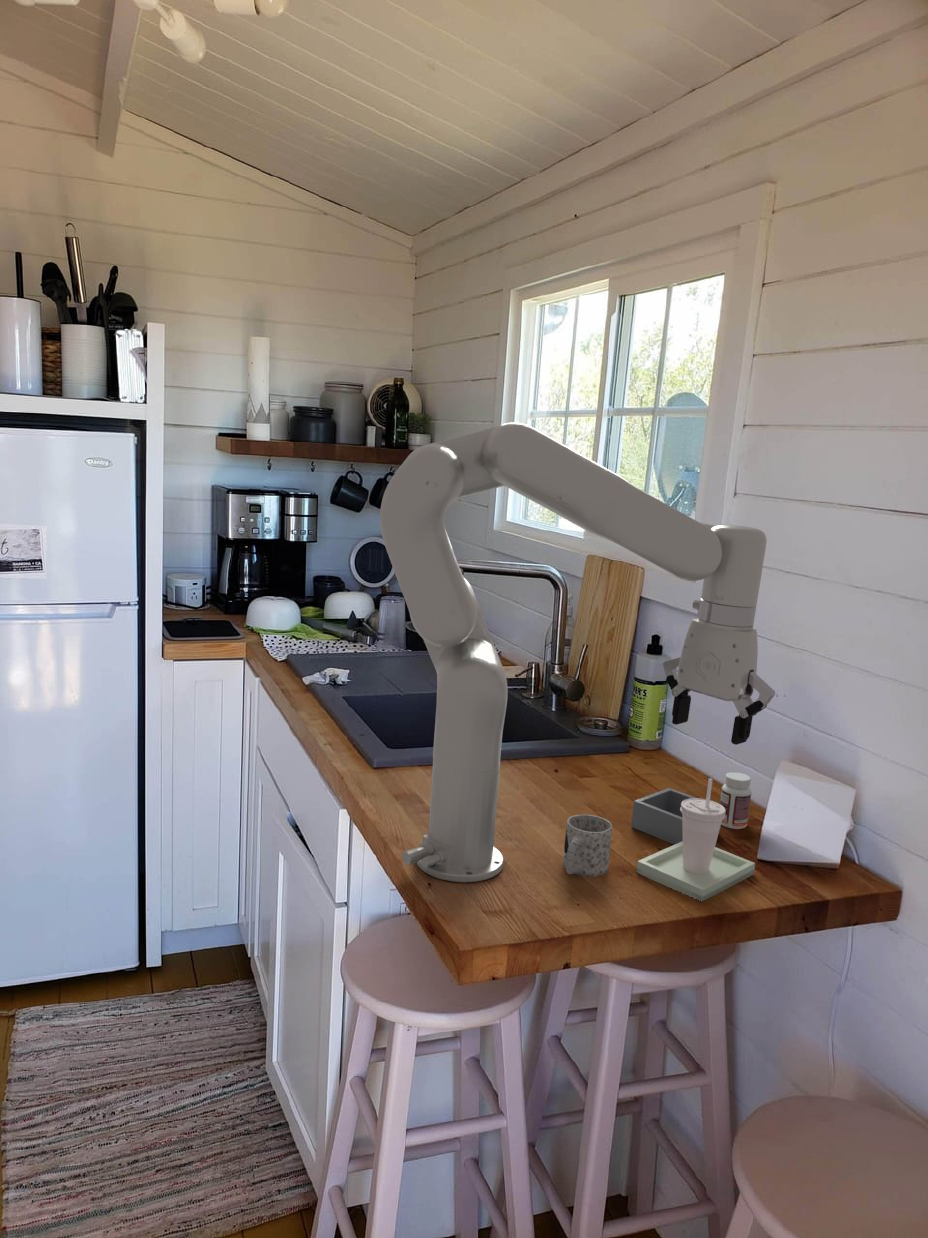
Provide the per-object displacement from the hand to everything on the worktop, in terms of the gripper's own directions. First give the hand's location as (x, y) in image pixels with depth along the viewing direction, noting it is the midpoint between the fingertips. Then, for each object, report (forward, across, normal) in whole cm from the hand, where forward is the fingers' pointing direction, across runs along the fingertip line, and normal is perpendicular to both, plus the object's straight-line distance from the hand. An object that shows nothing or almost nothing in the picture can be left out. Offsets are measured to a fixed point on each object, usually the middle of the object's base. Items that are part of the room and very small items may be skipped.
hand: (708, 732), depth 136 cm
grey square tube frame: (+22, -10, +12) cm, 27 cm away
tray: (+22, +1, +1) cm, 22 cm away
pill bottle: (+22, -6, +22) cm, 32 cm away
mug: (+22, -10, -12) cm, 27 cm away
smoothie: (+21, +1, +1) cm, 21 cm away
